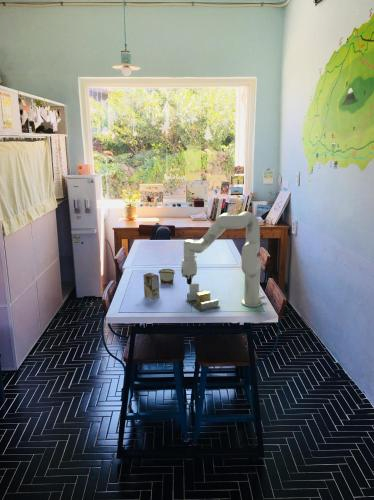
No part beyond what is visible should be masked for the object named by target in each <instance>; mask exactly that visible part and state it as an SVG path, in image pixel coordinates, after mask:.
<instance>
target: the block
mask: <svg viewBox="0 0 374 500" xmlns="http://www.w3.org/2000/svg"><path fill="white" fill-rule="evenodd" d="M210 300H211V292H210V291H208V290H204V292H199V293H196V303H197V304H198V305H200V303H202V302H207V301H210Z"/></svg>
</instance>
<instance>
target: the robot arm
mask: <svg viewBox="0 0 374 500" xmlns="http://www.w3.org/2000/svg"><path fill="white" fill-rule="evenodd" d="M244 228H245V243H244V245H243V246H242V248H241V270H242V272H243V274H244V291H243V293H244V296H243V299H242V300H241V304H242V305H243V306H245V307H249V308H257V307H259V306H261V305H262V300H265V299H266V296H265V295H260V287H261V286H260V282H261V281H260V280H261V270H262V262H261V259H260V258H259V257H258V254H259V252H260V250H261V237H260V236H261V235H260V234H261V230H260V222H259V219H258V217H257V215H255V214H254V213H252V212H250V211H242V212H239V214H231V213H230V212H223V213H222V214H220V215H219V216H218V217H217V218H216V220H215V221H214V222H213V223H212V224H211V225H210V226H209V228H208V230H207V232H206V233H205V234H204V235H203V236H202V237H201V238H200V239H199V240H197V241H195V240H194V239H191V238H190V239H189V238H188V239H185V240H184V241H183V259H182V261H181V268H180V272H181V277H183V278H186V284H187V285H189V284H193V283H192V282H193V281H192V280H193V277H194V276H196V275H197V273H198V265H197V260H196V258H197V255H196V254H202V253H203V252H204V251H206V250H207V249H208V248H209V247H210V246H211V245H212V244H213V243H214V242H215V241H216V239H218V238H219V237H221V235H223V233H224V232H225V231H226V230H235V229H237V230H240V229H244Z"/></svg>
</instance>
